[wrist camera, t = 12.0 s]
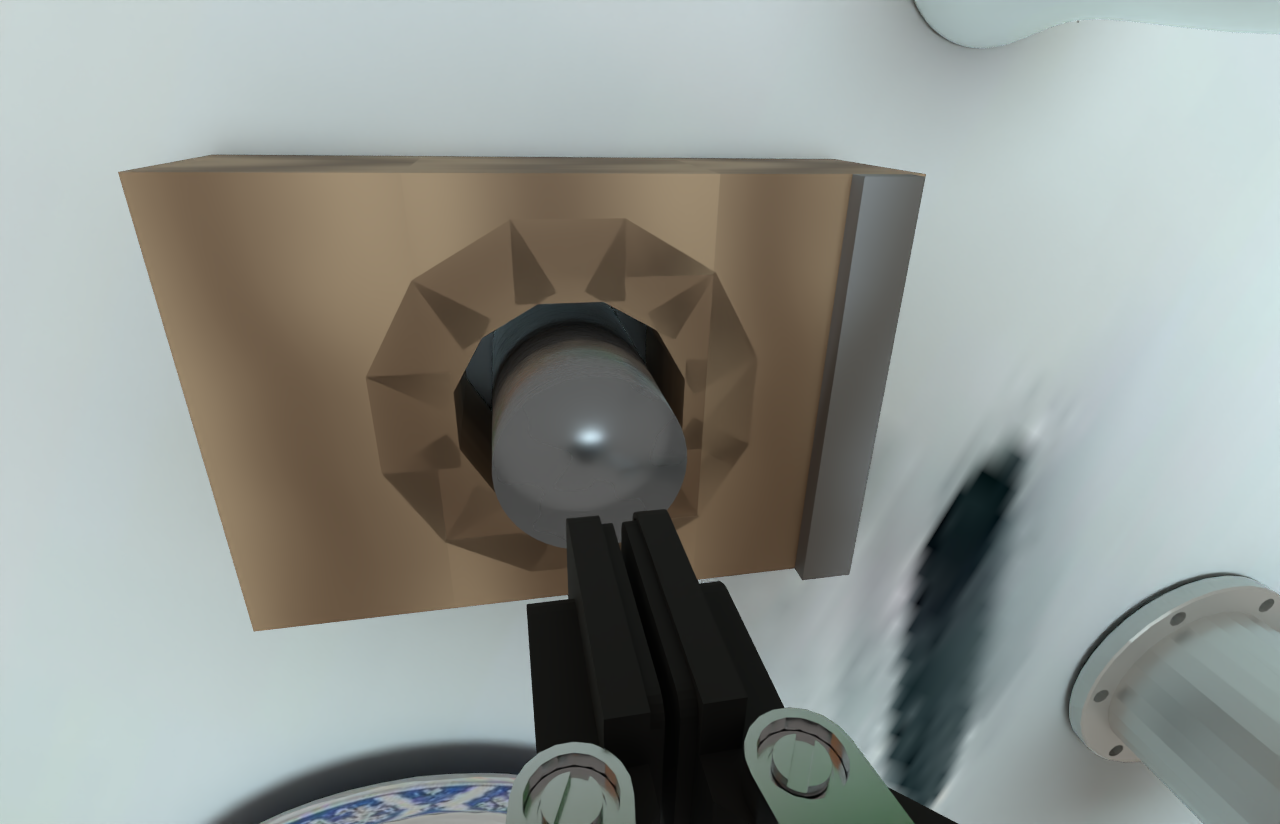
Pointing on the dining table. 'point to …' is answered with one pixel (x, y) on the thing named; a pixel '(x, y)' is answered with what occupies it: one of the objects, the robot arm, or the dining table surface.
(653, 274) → the block
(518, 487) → the grey cylinder
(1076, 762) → the dining table surface
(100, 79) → the dining table surface
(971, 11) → the beer glass
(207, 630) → the dining table surface
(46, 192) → the dining table surface
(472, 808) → the ceramic plate
